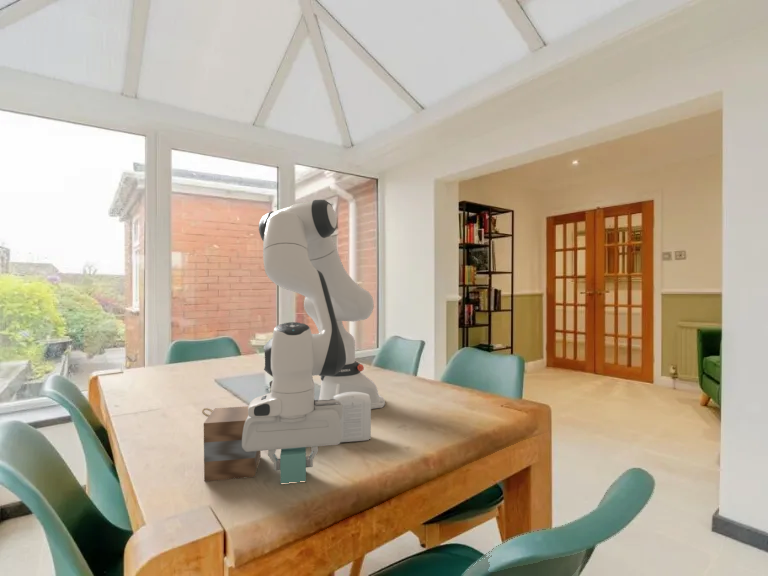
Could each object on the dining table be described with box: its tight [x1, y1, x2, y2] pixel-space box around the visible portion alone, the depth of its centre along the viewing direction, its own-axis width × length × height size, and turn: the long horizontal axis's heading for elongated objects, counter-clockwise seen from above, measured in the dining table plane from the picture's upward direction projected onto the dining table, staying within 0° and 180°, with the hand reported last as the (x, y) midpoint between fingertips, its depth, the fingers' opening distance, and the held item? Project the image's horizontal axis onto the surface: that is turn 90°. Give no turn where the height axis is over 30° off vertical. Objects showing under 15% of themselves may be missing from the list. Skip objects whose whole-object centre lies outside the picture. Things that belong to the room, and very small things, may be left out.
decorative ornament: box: [201, 407, 214, 418], centre depth 113 cm, size 4×8×5 cm, turn 75°
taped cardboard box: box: [203, 405, 262, 482], centre depth 88 cm, size 10×10×12 cm
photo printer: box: [333, 392, 372, 443], centre depth 104 cm, size 10×4×12 cm, turn 103°
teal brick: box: [279, 447, 307, 484], centre depth 84 cm, size 5×5×6 cm
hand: (293, 467), depth 84 cm, fingers closed on teal brick, 5 cm apart
